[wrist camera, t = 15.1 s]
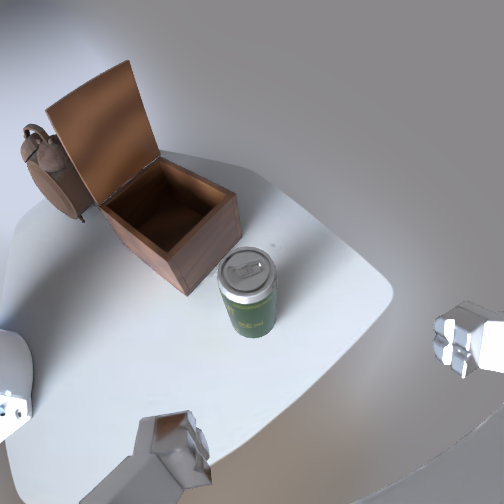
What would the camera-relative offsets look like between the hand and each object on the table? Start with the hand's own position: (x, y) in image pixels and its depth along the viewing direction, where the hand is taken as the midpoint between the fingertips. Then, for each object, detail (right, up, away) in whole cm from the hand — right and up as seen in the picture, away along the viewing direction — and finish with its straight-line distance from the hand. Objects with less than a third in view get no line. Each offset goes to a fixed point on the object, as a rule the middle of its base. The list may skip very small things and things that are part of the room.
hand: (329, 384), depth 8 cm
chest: (-13, +6, +35) cm, 38 cm away
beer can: (-2, -4, +28) cm, 28 cm away
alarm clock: (-34, +12, +41) cm, 54 cm away
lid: (-20, +18, +23) cm, 36 cm away
